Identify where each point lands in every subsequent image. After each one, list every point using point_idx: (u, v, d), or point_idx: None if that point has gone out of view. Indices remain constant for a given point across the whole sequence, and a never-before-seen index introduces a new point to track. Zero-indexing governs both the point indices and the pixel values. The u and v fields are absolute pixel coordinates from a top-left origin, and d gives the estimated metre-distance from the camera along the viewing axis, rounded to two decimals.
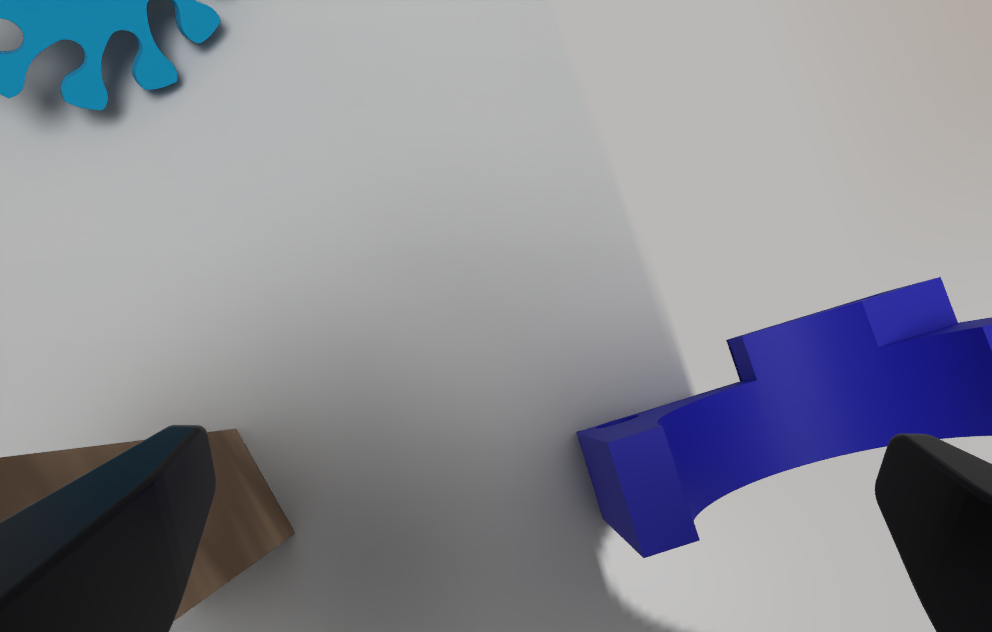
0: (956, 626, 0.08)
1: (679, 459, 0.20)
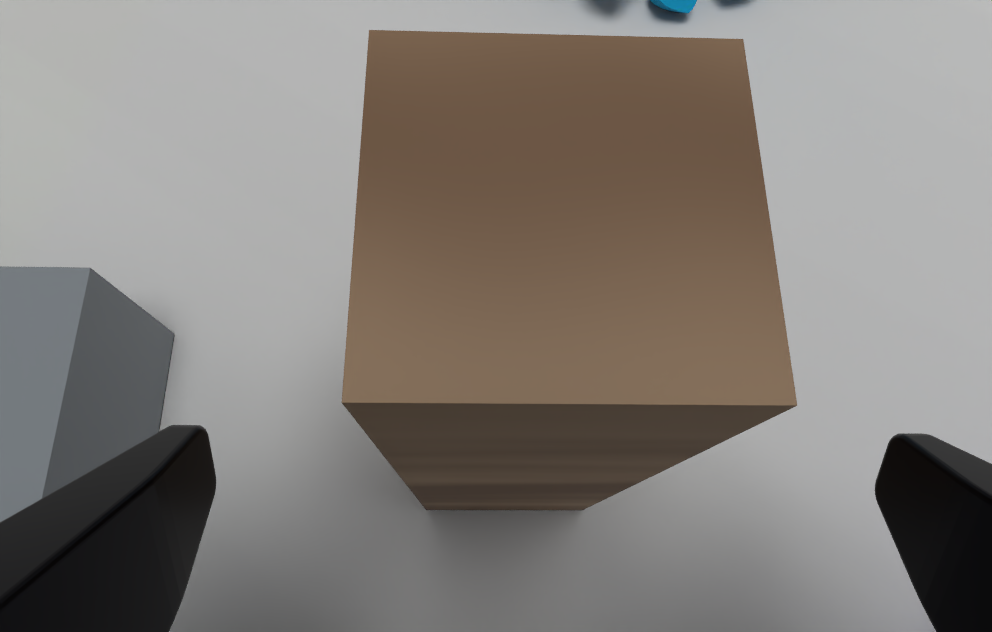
0: (956, 626, 0.08)
1: None
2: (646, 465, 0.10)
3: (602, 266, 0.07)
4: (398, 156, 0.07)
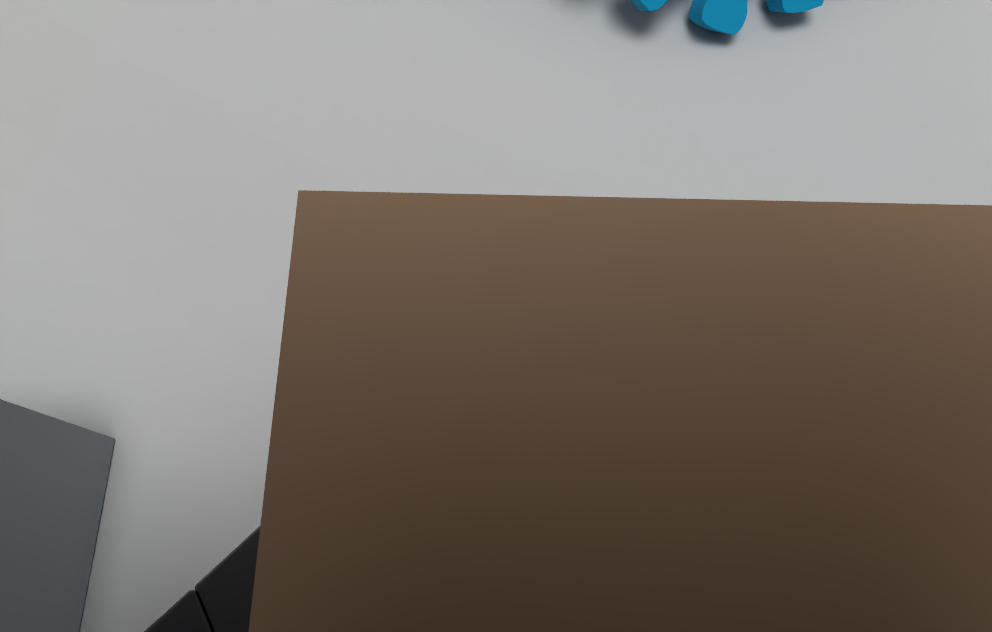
0: None
1: None
2: None
3: None
4: (344, 478, 0.03)
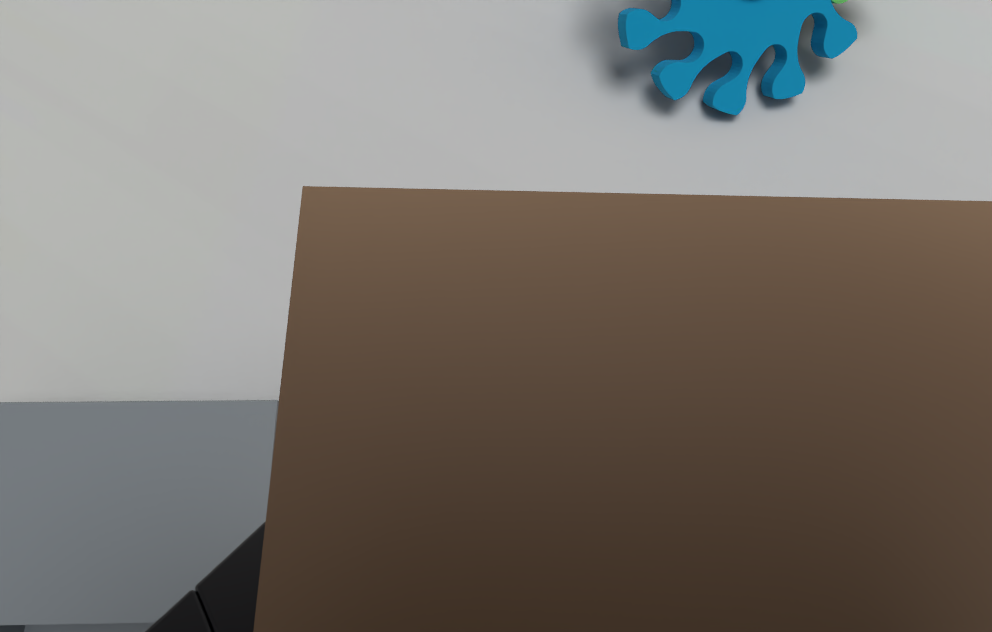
0: None
1: None
2: None
3: None
4: (350, 473, 0.03)
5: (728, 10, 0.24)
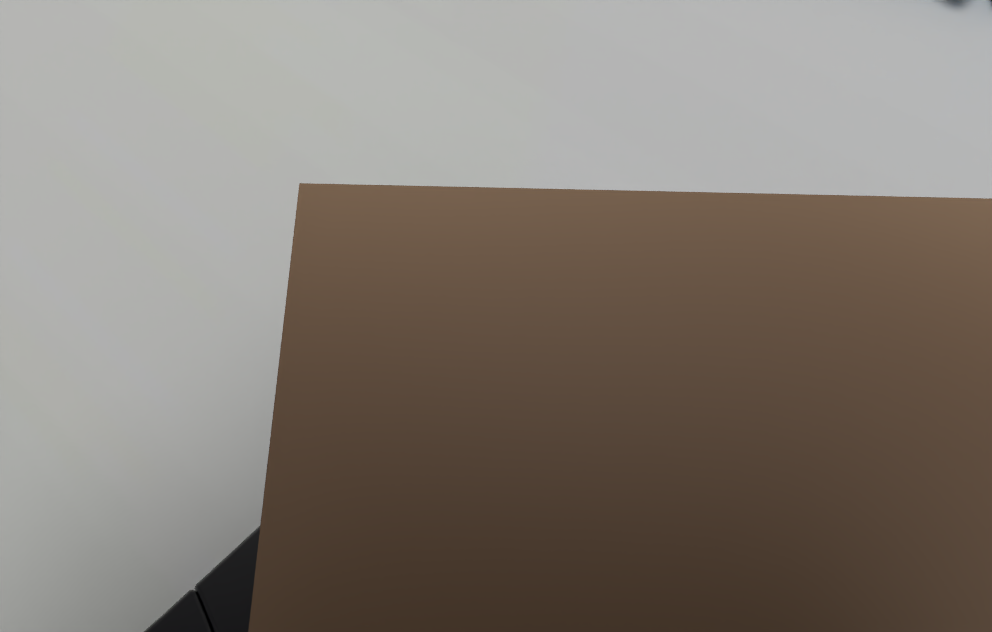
0: None
1: None
2: None
3: None
4: (345, 468, 0.03)
5: None
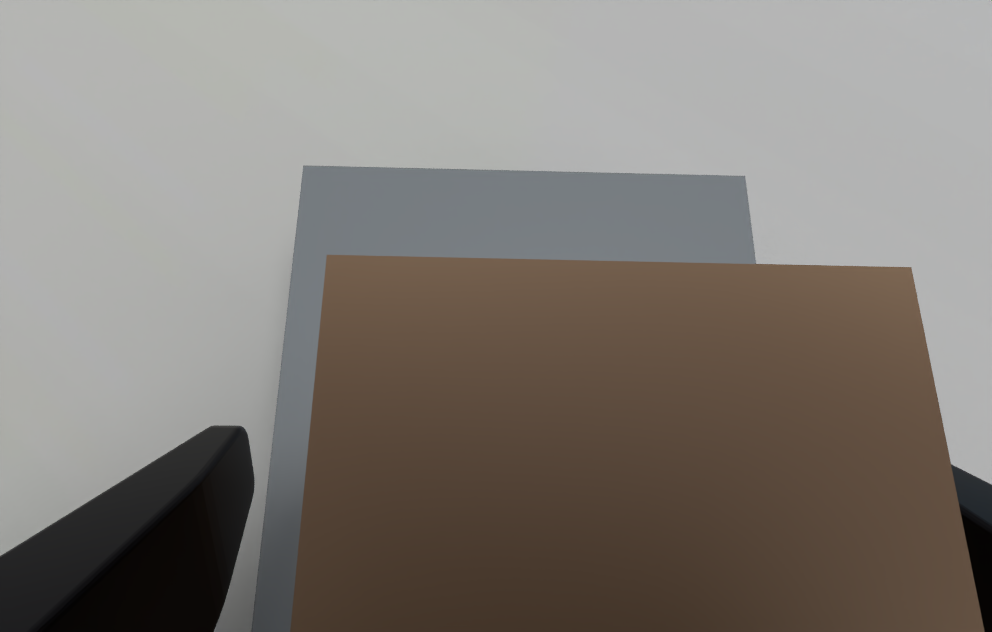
0: None
1: None
2: None
3: None
4: (366, 490, 0.04)
5: None
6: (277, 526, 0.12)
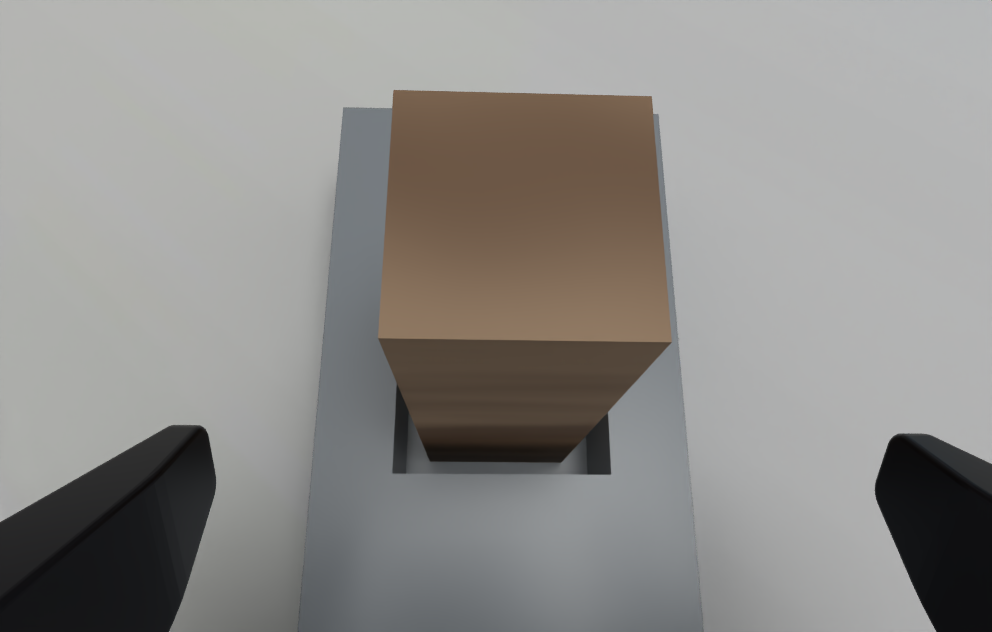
0: (956, 626, 0.08)
1: None
2: (595, 403, 0.13)
3: (548, 253, 0.10)
4: (413, 178, 0.10)
5: None
6: (332, 342, 0.19)
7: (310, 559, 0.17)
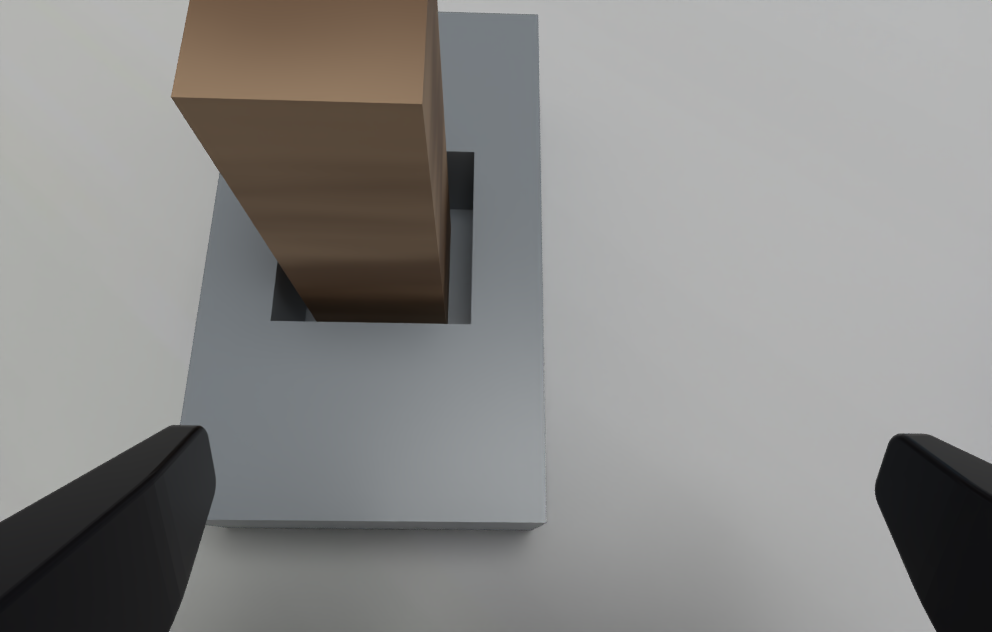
0: (956, 626, 0.08)
1: None
2: (416, 217, 0.15)
3: (324, 35, 0.12)
4: None
5: None
6: (222, 208, 0.20)
7: (191, 392, 0.18)
